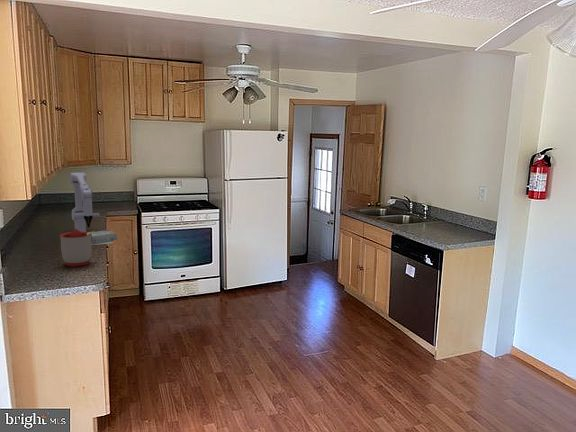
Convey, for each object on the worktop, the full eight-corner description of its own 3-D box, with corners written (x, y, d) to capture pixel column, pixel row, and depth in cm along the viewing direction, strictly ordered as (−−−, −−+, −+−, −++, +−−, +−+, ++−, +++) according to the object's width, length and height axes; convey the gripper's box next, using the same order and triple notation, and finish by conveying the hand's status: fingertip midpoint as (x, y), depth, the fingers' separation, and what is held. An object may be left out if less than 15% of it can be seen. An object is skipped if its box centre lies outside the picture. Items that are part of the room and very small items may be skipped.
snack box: (105, 228, 314) (117, 232, 304) (106, 236, 315) (117, 240, 305) (75, 233, 298) (86, 237, 288) (75, 241, 299) (86, 245, 289)
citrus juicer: (101, 263, 249) (99, 228, 246) (68, 269, 237) (66, 232, 233) (88, 258, 260) (86, 224, 256) (56, 264, 247) (54, 228, 244)
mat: (68, 241, 299) (68, 241, 299) (110, 238, 311) (110, 238, 311) (69, 247, 285) (69, 246, 285) (113, 243, 297) (113, 243, 297)
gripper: (76, 208, 298) (77, 228, 301) (99, 207, 305) (100, 227, 307) (75, 207, 304) (76, 226, 307) (98, 206, 311) (99, 225, 313)
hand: (88, 227), depth 307 cm, fingers closed
